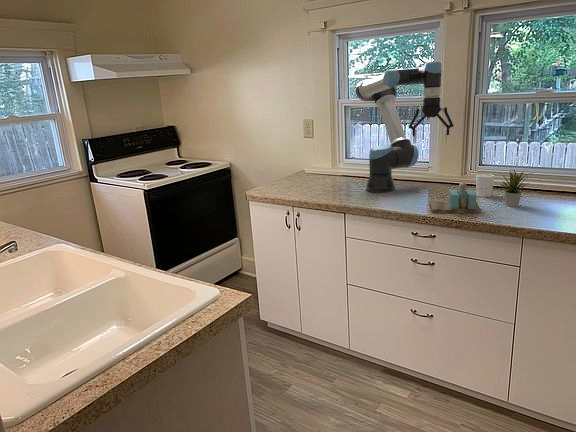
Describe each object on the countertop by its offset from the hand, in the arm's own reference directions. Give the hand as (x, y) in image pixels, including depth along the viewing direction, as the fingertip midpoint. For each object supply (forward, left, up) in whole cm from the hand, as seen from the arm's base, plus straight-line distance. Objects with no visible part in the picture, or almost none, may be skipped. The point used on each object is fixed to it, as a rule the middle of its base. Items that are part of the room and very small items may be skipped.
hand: (430, 142), depth 209 cm
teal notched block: (+13, -22, -25) cm, 36 cm away
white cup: (+26, +2, -27) cm, 37 cm away
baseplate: (+10, -22, -27) cm, 36 cm away
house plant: (+36, -16, -27) cm, 48 cm away
